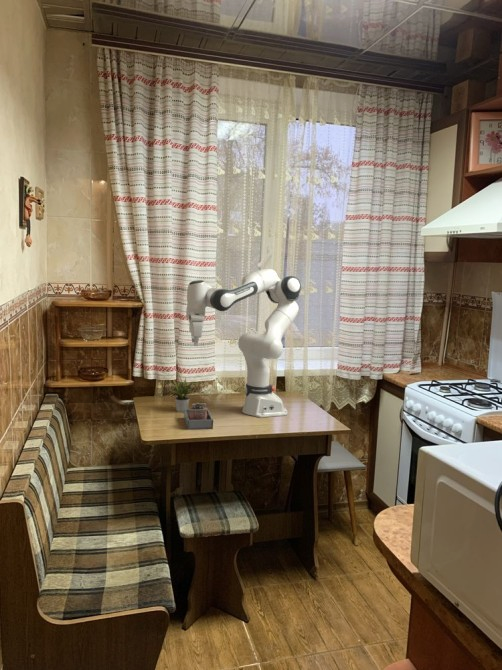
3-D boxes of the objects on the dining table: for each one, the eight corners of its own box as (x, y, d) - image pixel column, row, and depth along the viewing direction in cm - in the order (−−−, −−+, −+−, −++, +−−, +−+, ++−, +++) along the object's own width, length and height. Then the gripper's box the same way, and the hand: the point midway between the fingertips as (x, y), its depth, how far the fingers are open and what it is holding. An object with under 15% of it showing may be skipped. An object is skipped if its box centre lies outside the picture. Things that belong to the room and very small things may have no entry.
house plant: (200, 415, 251) (201, 382, 249) (171, 416, 247) (172, 383, 244) (194, 406, 265) (195, 374, 262) (167, 407, 260) (167, 375, 258)
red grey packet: (189, 426, 233) (190, 404, 231) (188, 423, 236) (188, 402, 234) (207, 425, 235) (208, 403, 234) (205, 422, 238) (206, 401, 237)
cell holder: (207, 417, 248) (208, 408, 248) (212, 428, 233) (213, 419, 233) (184, 418, 246) (184, 409, 245) (187, 429, 231) (187, 420, 230)
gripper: (186, 312, 255) (185, 339, 257) (191, 317, 235) (190, 348, 238) (199, 312, 257) (198, 340, 259) (205, 318, 237) (204, 348, 239)
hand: (194, 344), depth 248 cm, fingers open, 8 cm apart
